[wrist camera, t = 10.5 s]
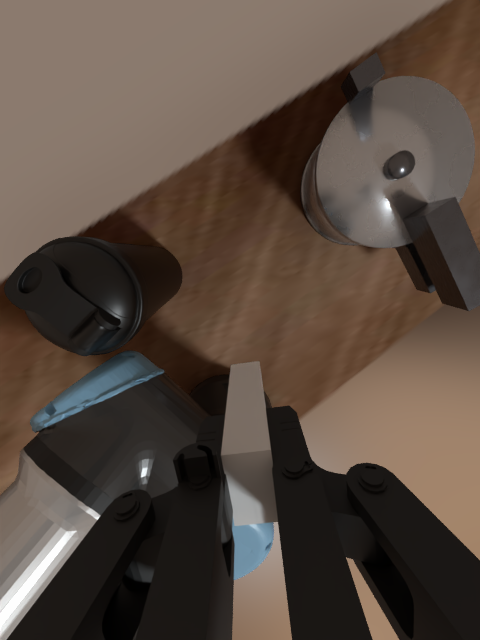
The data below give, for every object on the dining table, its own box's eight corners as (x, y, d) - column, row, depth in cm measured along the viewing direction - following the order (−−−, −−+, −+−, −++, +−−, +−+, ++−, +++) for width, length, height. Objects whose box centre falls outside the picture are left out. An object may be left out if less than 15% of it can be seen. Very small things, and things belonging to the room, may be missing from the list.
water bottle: (152, 225, 41) (43, 201, 19) (201, 277, 43) (155, 311, 20) (107, 273, 43) (-41, 303, 21) (156, 320, 45) (69, 395, 22)
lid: (279, 134, 29) (287, 111, 24) (422, 30, 27) (463, -19, 22) (385, 329, 35) (409, 343, 30) (513, 257, 32) (562, 259, 27)
